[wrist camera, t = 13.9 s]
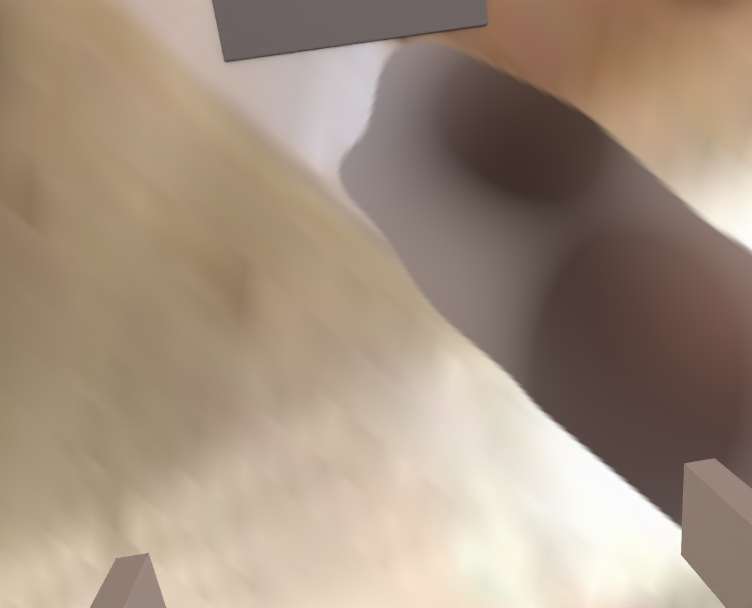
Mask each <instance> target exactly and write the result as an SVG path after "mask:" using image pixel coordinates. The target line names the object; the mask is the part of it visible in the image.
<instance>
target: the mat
mask: <svg viewBox="0 0 752 608" xmlns="http://www.w3.org/2000/svg"><path fill="white" fill-rule="evenodd" d="M212 2H213V6H214V11H215V16H216V21H217V26H218V31H219V36H220V41H221V46H222V51H223V55H224V60H225V61H226V62H228V61H235V60H242V59H250V58H257V57H264V56H271V55H278V54H285V53H293V52H300V51H307V50H314V49H321V48H328V47H336V46H343V45H350V44H357V43H364V42H371V41H379V40H386V39H393V38H400V37H407V36H414V35H421V34H429V33H436V32H443V31H450V30H457V29H464V28H472V27H479V26H486V25H487V9H486V0H212Z"/></svg>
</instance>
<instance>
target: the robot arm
mask: <svg viewBox="0 0 752 608" xmlns="http://www.w3.org/2000/svg"><path fill="white" fill-rule="evenodd" d="M681 555H682V556H683V558H684V559H685V560H686V561H687V562H688V563H689V565H690V566H691V567H692V568H693V569H694V571H695V572H696V573H697V574H698V575H699V576H700V578H701V579H702V580H703V581H704V582H705V584H706V585H707V586H708V587H709V588H710V589H711V591H712V592H713V593H714V594H715V595H716V597H717V598H718V599H719V600H720V601H721V602H722V604H723V605H724V606H725V607H726V608H752V489H751V488H750V487H749V486H747V485H746V484H745V483H743V482H742V481H741V480H740V479H739V478H738V477H736V476H735V475H734V474H733V473H732V472H730V471H729V470H728V469H727V468H725V467H724V466H723V465H722V464H720V463H719V462H718V461H717V460H716V459H709V460H703V461H697V462H691V463H685V464H684V488H683V515H682V543H681ZM90 608H166V606H165V603H164V600H163V597H162V593H161V590H160V587H159V584H158V581H157V578H156V575H155V572H154V569H153V566H152V563H151V559H150V556H149V553H146V554H140V555H134V556H128V557H122V558H116V560H115V562H114V564H113V565H112V567H111V569H110V571H109V573H108V575H107V577H106V579H105V581H104V582H103V584H102V586H101V588H100V590H99V592H98V594H97V596H96V597H95V599H94V601H93V603H92V605H91V607H90Z"/></svg>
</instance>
